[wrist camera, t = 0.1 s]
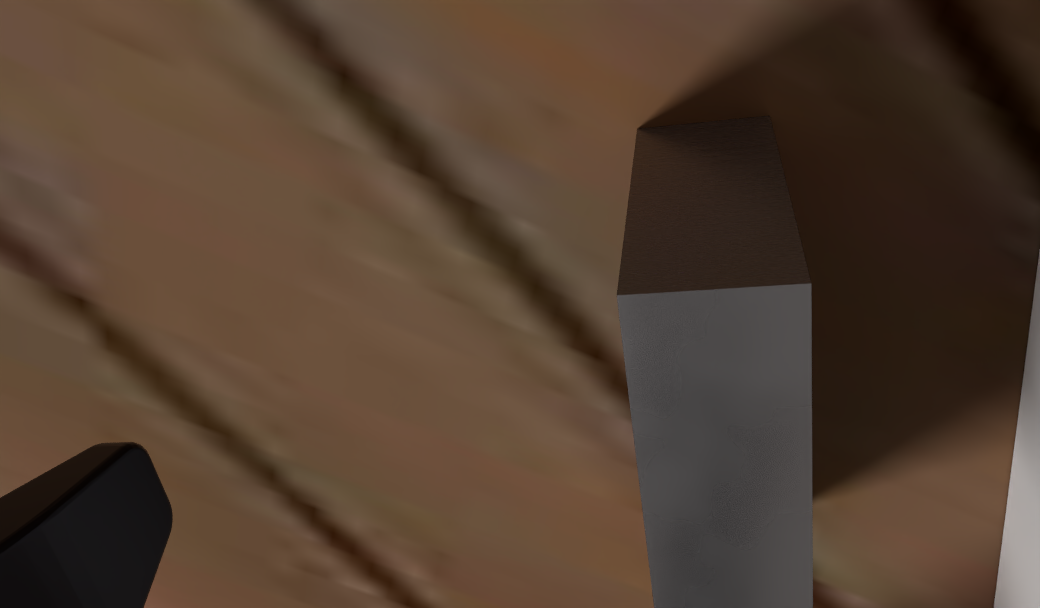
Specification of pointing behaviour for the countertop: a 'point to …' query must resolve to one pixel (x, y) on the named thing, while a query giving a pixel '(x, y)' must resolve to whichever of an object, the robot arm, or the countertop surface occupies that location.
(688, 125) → the blanking panel
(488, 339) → the countertop surface
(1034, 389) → the panel rack
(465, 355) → the countertop surface
